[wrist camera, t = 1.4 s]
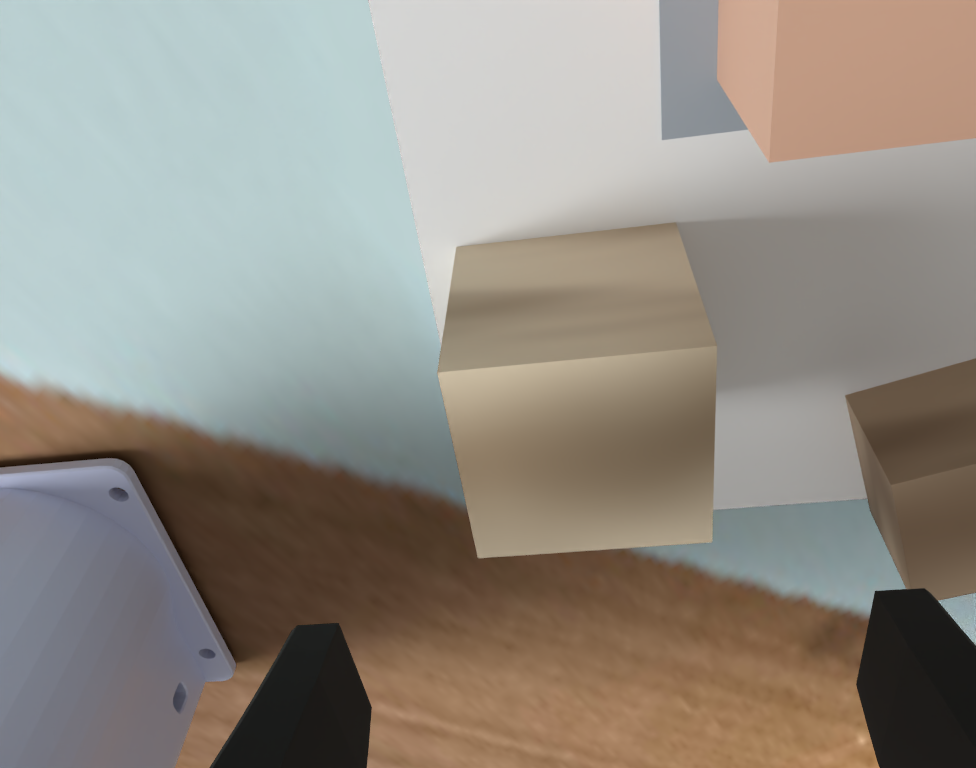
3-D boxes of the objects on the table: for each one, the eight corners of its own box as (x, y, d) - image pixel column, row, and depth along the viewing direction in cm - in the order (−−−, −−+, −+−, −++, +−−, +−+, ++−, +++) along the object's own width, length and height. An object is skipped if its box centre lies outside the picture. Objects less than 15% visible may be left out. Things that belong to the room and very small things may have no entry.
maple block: (677, 398, 19) (712, 542, 16) (487, 415, 20) (477, 558, 16) (675, 222, 17) (717, 346, 13) (456, 246, 17) (437, 372, 14)
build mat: (1021, 464, 21) (1037, 487, 20) (480, 505, 23) (479, 527, 22) (1350, -575, 11) (1406, -600, 10) (302, -364, 12) (289, -371, 12)
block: (1040, 469, 20) (1110, 563, 18) (870, 511, 21) (914, 605, 19) (1034, 341, 18) (1113, 429, 16) (845, 395, 19) (891, 484, 17)
